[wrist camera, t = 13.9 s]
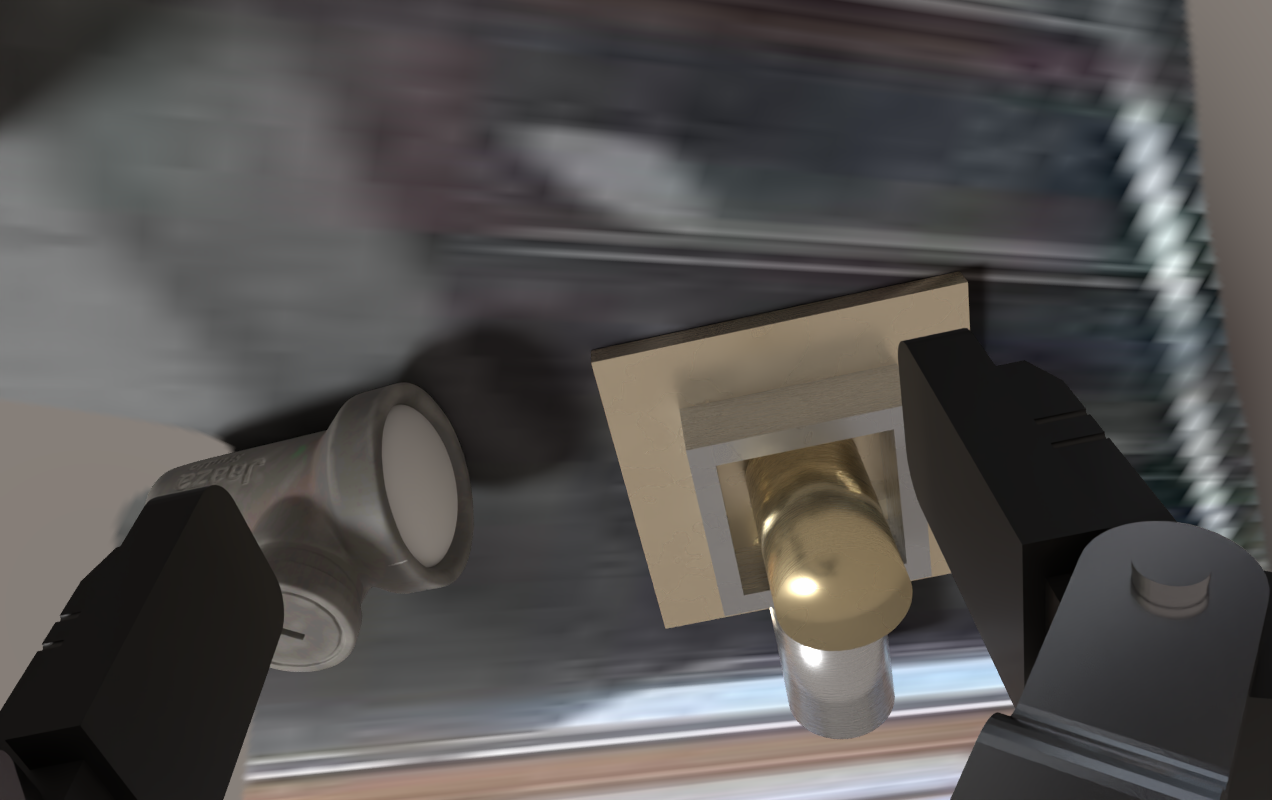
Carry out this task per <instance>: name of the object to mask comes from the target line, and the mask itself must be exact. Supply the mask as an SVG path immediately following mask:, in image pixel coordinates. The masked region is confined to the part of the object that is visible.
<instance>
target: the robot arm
mask: <svg viewBox="0 0 1272 800" xmlns="http://www.w3.org/2000/svg"><path fill="white" fill-rule="evenodd" d="M898 366H899V377H900V389H901V400H902V411H903V422H904V433H905V444H906V454H907V461H908V467H909V471H910V476H911V480H912V484H913V487H914V491H915V494H916V497H917V500H918V502H919V505H920V507H921V509H922V511H923V513H924V516H925V518H926V520H927V522H928V524H929V526H930V528H931V531H932V533H933V535H934V537H935V539H936V541H937V543H938V545H939V548H940V550H941V552H942V554H943V556H944V558H945V560H946V562H947V565H948V567H949V569H950V571H951V573H952V575H953V577H954V579H955V582H956V584H957V586H958V588H959V590H960V592H961V594H962V597H963V599H964V601H965V603H966V605H967V607H968V609H969V611H970V614H971V616H972V618H973V620H974V622H975V624H976V626H977V628H978V631H979V633H980V635H981V637H982V639H983V641H984V643H985V645H986V648H987V650H988V652H989V654H990V656H991V658H992V660H993V662H994V665H995V667H996V669H997V671H998V673H999V675H1000V677H1001V680H1002V682H1003V684H1004V686H1005V688H1006V690H1007V692H1008V694H1009V697H1010V699H1011V701H1012V703H1013V705H1014V707H1015V710H1014V712H1013V714H1012V715H1011V716H1007V715H1004V714H1001V713H998V712H997V713H995V714H993V715H992V716H991V717H990V718H989V719H988V721H987V722H986V724H985V725H984V727H983V729H982V730H981V732H980V734H979V736H978V738H977V741H976V743H975V745H974V747H973V750H972V752H971V754H970V756H969V759H968V761H967V763H966V765H965V768H964V770H963V772H962V774H961V777H960V779H959V781H958V783H957V786H956V788H955V790H954V792H953V795H952V797H951V799H950V800H1272V572H1268V571H1263V569H1262V567H1261V566H1260V564H1259V563H1258V562H1257V561H1256V559H1255V558H1254V557H1253V556H1252V555H1251V554H1249V553H1248V552H1247V551H1246V550H1245V549H1244V548H1242V547H1241V546H1239V545H1238V544H1236V543H1235V542H1233V541H1232V540H1230V539H1228V538H1226V537H1224V536H1222V535H1220V534H1218V533H1215V532H1212V531H1210V530H1207V529H1204V528H1201V527H1197V526H1193V525H1189V524H1183V523H1177V521H1176V520H1175V519H1174V518H1173V516H1172V515H1171V514H1170V513H1169V511H1168V510H1167V509H1166V508H1165V507H1164V505H1163V504H1162V503H1161V502H1160V500H1159V499H1158V498H1157V497H1156V495H1155V494H1154V493H1153V492H1152V490H1151V489H1150V488H1149V487H1148V485H1147V484H1146V483H1145V482H1144V480H1143V479H1142V478H1141V477H1140V476H1139V474H1138V473H1137V472H1136V471H1135V469H1134V468H1133V467H1132V466H1131V464H1130V463H1129V462H1128V461H1127V459H1126V458H1125V457H1124V456H1123V454H1122V453H1121V452H1120V451H1119V449H1118V448H1117V447H1116V446H1115V445H1114V443H1113V442H1112V441H1111V440H1110V438H1107V439H1106V437H1105V433H1104V431H1103V430H1102V428H1101V427H1100V426H1099V425H1098V423H1097V422H1096V421H1095V420H1094V418H1093V417H1092V416H1091V415H1090V414H1089V415H1087V413H1086V409H1085V407H1084V406H1083V405H1082V404H1081V402H1080V401H1079V400H1078V399H1077V397H1076V396H1075V395H1074V394H1073V392H1072V391H1071V390H1070V389H1069V387H1068V386H1067V385H1066V384H1065V382H1064V381H1063V380H1061V379H1059V378H1057V377H1055V376H1053V375H1051V374H1049V373H1047V372H1046V371H1044V370H1042V369H1040V368H1038V367H1036V366H1034V365H1032V364H1030V363H1028V362H1027V361H1025V360H1024V361H1019V362H1014V363H1009V364H1005V365H1000V366H995V364H994V363H993V362H992V360H991V359H990V357H989V356H988V355H987V353H986V352H985V350H984V349H983V348H982V346H981V345H980V343H979V342H978V341H977V339H976V338H975V336H974V335H973V334H972V332H971V331H970V330H969V329H968V328H961V329H956V330H952V331H947V332H942V333H937V334H933V335H928V336H923V337H918V338H914V339H909V340H904V341H901V342H900V343H899V346H898ZM60 618H61V621H60V622H56V623H55V624H54V626H53V627H52V629H51V630H50V632H49V634H48V635H47V637H46V638H45V640H44V642H43V643H42V645H43V650H42V651H38V652H37V653H36V655H35V656H34V658H33V659H32V661H31V662H30V664H29V666H28V667H27V669H26V670H25V672H24V674H23V675H22V677H21V679H20V680H19V682H18V683H17V685H16V687H15V688H14V690H13V691H12V693H11V695H10V696H9V698H8V699H7V701H6V703H5V704H4V706H3V708H2V709H1V711H0V800H223V799H224V796H225V793H226V790H227V787H228V785H229V782H230V779H231V776H232V773H233V770H234V767H235V765H236V762H237V759H238V756H239V753H240V750H241V747H242V745H243V742H244V739H245V736H246V733H247V730H248V727H249V724H250V722H251V719H252V716H253V713H254V710H255V707H256V704H257V702H258V699H259V696H260V693H261V690H262V687H263V684H264V682H265V679H266V676H267V673H268V670H269V667H270V664H271V662H272V659H273V656H274V653H275V650H276V647H277V644H278V641H279V639H280V636H281V633H282V629H283V624H284V602H283V596H282V592H281V588H280V585H279V582H278V580H277V578H276V576H275V574H274V572H273V570H272V569H271V567H270V565H269V563H268V561H267V559H266V558H265V556H264V554H263V552H262V550H261V548H260V547H259V545H258V543H257V541H256V539H255V538H254V536H253V534H252V532H251V530H250V528H249V527H248V525H247V523H246V521H245V519H244V517H243V516H242V514H241V512H240V510H239V508H238V506H237V505H236V503H235V501H234V499H233V498H232V496H231V495H230V494H229V492H228V491H227V490H225V489H224V488H223V487H221V486H219V485H210V486H206V487H201V488H196V489H191V490H187V491H182V492H177V493H172V494H168V495H163V496H158V497H155V498H152V499H151V500H149V501H148V502H147V504H146V505H145V506H144V508H143V510H142V511H141V513H140V515H139V516H138V518H137V520H136V521H135V523H134V525H133V526H132V528H131V530H130V531H129V533H128V535H127V536H126V538H125V540H124V541H123V543H122V545H121V546H120V547H117V548H115V549H114V550H113V551H112V552H111V553H110V554H109V555H108V556H107V557H106V558H105V559H104V560H103V561H102V562H101V563H100V564H99V565H98V566H96V567H95V568H94V569H93V570H92V571H91V572H90V573H89V574H88V575H87V576H86V577H85V578H84V579H83V580H82V581H81V582H80V584H79V586H78V587H77V589H76V590H75V592H74V593H73V595H72V597H71V598H70V600H69V601H68V603H67V605H66V606H65V608H64V609H63V611H62V613H61V615H60Z"/></svg>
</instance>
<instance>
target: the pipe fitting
mask: <svg viewBox="0 0 1272 800" xmlns="http://www.w3.org/2000/svg"><path fill="white" fill-rule="evenodd" d="M210 485H219V486H221V487H223V488H224V489H225V490H227V491H228V492H229V494H230V495H231V496H232V498H233V499H234V501H235V503H236V505H237V506H238V508H239V510H240V512H241V514H242V516H243V517H244V519H245V521H246V523H247V525H248V527H249V528H250V530H251V532H252V534H253V536H254V538H255V539H256V541H257V543H258V545H259V547H260V548H261V550H262V552H263V554H264V556H265V558H266V559H267V561H268V563H269V565H270V567H271V569H272V570H273V572H274V574H275V576H276V578H277V580H278V582H279V585H280V588H281V592H282V596H283V602H284V624H283V629H282V633H281V636H280V639H279V641H278V644H277V647H276V650H275V653H274V656H273V659H272V662H271V664H270V668H274V669H279V670H284V671H293V672H310V671H318V670H322V669H326V668H329V667H332V666H334V665H337V664H338V663H340V662H342V661H343V660H344V659H346V658H347V657H348V656H349V654H350V653H351V652H352V650H353V648H354V646H355V643H356V640H357V637H358V633H359V630H360V627H361V623H362V611H361V603H362V602H363V600H364V598H365V596H366V594H367V592H368V591H369V589H370V588H372V587H378V588H381V589H384V590H386V591H389V592H393V593H398V594H406V593H412V592H418V591H423V590H429V589H434V588H440V587H444V586H447V585H449V584H451V583H453V582H454V581H455V580H456V579H457V578H458V577H459V576H460V574H461V573H462V571H463V570H464V568H465V566H466V563H467V561H468V557H469V554H470V550H471V544H472V538H473V529H474V521H473V499H472V490H471V484H470V478H469V473H468V469H467V465H466V461H465V457H464V454H463V452H462V448H461V446H460V443H459V440H458V438H457V436H456V433H455V431H454V429H453V427H452V425H451V423H450V421H449V419H448V418H447V416H446V415H445V413H444V412H443V411H442V409H441V408H440V407H439V406H438V404H437V403H436V402H435V401H434V400H433V398H432V397H431V396H430V395H429V394H428V393H426V392H425V391H424V390H423V389H421V388H420V387H418V386H416V385H414V384H411V383H404V382H402V383H396V384H392V385H389V386H385V387H381V388H378V389H374V390H370V391H367V392H363V393H360V394H358V395H355V396H354V397H352V398H350V399H349V400H348V401H347V402H346V403H345V404H344V405H343V406H342V407H341V409H340V410H339V412H338V413H337V415H336V416H335V418H334V420H333V421H332V423H331V424H330V426H329V428H328V429H327V430H325V431H321V432H317V433H313V434H309V435H305V436H300V437H296V438H292V439H288V440H284V441H280V442H275V443H271V444H267V445H263V446H259V447H255V448H250V449H246V450H242V451H238V452H234V453H230V454H225V455H222V456H217V457H213V458H209V459H205V460H201V461H197V462H193V463H190V464H187V465H183V466H180V467H177V468H174V469H172V470H170V471H168V472H166V473H165V474H163V475H162V476H161V477H160V478H159V479H158V480H157V481H156V482H155V484H154V485H153V486H152V488H151V490H150V492H149V494H148V496H147V499H146V502H145V505H146V504H147V502H148V501H149V500H151V499H152V498H155V497H158V496H163V495H168V494H172V493H177V492H182V491H187V490H191V489H196V488H201V487H206V486H210Z"/></svg>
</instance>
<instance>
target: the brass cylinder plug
mask: <svg viewBox="0 0 1272 800" xmlns="http://www.w3.org/2000/svg"><path fill="white" fill-rule="evenodd" d="M745 478H746V485H747V489H748V494H749V498H750V502H751V507H752V511H753V516H754V520H755V524H756V529H757V533H758V538H759V542H760V546H761V551H762V555H763V560H764V564H765V568H766V573H767V577H768V581H769V586H770V590H771V595H772V599H773V603H774V608H775V612H776V616H777V620H778V622H779V624H780V626H781V628H782V629H783V631H784V632H785V633H786V634H787V635H788V636H789V637H790V638H792V639H793V640H794V641H796V642H798V643H799V644H801V645H804V646H806V647H809V648H813V649H817V650H823V651H844V650H851V649H855V648H859V647H862V646H866V645H868V644H871V643H873V642H875V641H877V640H879V639H881V638H882V637H884V636H885V635H887V634H888V633H890V632H891V631H892V630H893V629H895V628H896V627H897V626H898V624H899V623H900V622H901V621H902V620H903V618H904V617H905V615H906V614H907V612H908V610H909V607H910V605H911V601H912V591H913V590H912V584H911V581H910V578H909V576H908V573H907V571H906V568H905V566H904V563H903V561H902V558H901V556H900V553H899V551H898V548H897V546H896V543H895V541H894V538H893V536H892V533H891V531H890V528H889V526H888V523H887V521H886V518H885V516H884V513H883V511H882V509H881V506H880V504H879V501H878V499H877V496H876V494H875V491H874V489H873V486H872V484H871V481H870V479H869V476H868V474H867V471H866V469H865V466H864V464H863V461H862V459H861V456H860V454H859V451H858V449H857V447H856V445H855V444H854V443H853V441H852V440H851V439H850V438H849V439H844V440H840V441H835V442H830V443H825V444H820V445H815V446H810V447H805V448H801V449H796V450H791V451H786V452H781V453H776V454H771V455H766V456H762V457H757V458H752V459H749V461H748V463H747V467H746V473H745Z"/></svg>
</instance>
